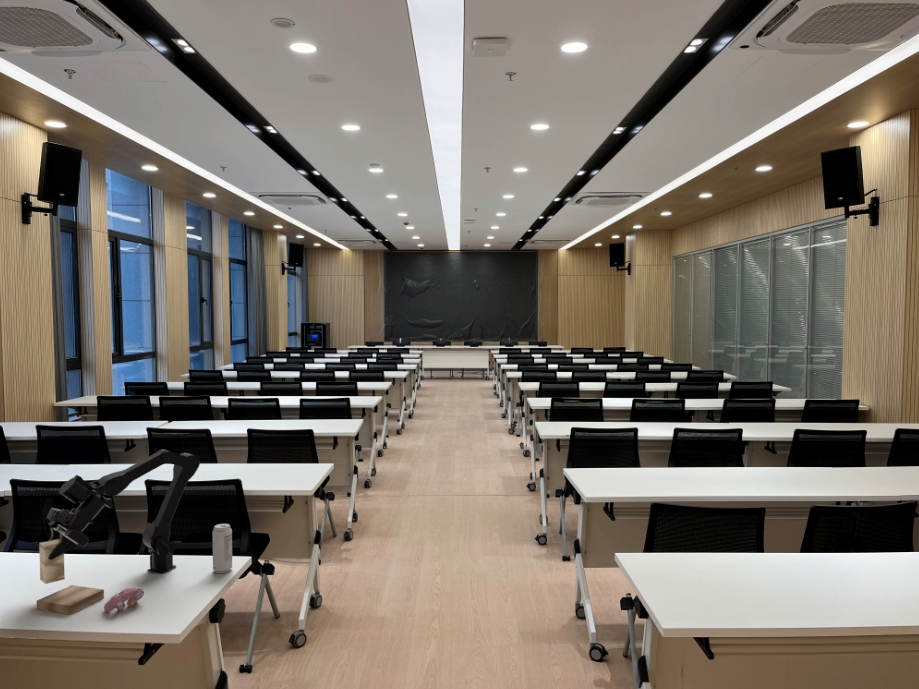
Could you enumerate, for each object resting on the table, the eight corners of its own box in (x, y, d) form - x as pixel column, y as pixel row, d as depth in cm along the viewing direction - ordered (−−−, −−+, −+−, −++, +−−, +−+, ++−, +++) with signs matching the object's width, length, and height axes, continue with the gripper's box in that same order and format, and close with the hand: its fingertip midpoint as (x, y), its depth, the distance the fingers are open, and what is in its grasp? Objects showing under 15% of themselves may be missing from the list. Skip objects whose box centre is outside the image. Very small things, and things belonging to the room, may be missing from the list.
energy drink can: (219, 566, 224) (218, 522, 223) (235, 568, 222) (235, 523, 222) (209, 573, 218) (208, 527, 217) (226, 574, 216) (225, 529, 216)
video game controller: (109, 620, 186) (116, 600, 185) (101, 609, 189) (107, 590, 187) (142, 607, 195) (148, 588, 193) (133, 597, 197) (140, 578, 195)
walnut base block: (103, 597, 198) (103, 589, 198) (69, 614, 187) (69, 605, 187) (72, 593, 202) (72, 584, 202) (36, 609, 190) (36, 600, 190)
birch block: (59, 575, 201) (58, 538, 200) (64, 579, 197) (63, 542, 197) (40, 579, 197) (39, 543, 197) (45, 584, 194) (44, 546, 193)
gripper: (55, 492, 206) (14, 535, 198) (76, 502, 193) (33, 550, 185) (83, 511, 212) (45, 555, 204) (105, 523, 199) (65, 570, 191)
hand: (46, 557), depth 196 cm, fingers closed on birch block, 5 cm apart
